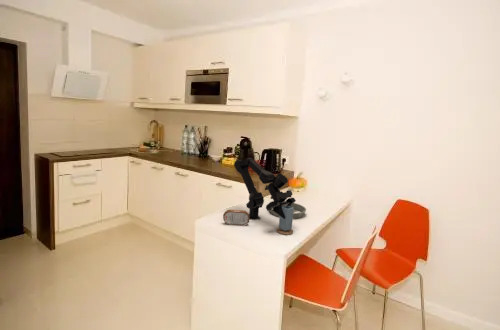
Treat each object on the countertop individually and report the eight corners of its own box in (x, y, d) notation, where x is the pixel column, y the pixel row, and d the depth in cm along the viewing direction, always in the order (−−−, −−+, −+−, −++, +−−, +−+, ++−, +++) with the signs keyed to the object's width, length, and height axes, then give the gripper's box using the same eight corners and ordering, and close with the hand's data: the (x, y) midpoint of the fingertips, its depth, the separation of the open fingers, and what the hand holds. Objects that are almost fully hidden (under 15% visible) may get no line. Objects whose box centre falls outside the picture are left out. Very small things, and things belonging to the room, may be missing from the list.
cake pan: (275, 220, 176) (276, 213, 175) (263, 207, 199) (263, 201, 198) (312, 219, 182) (313, 212, 182) (296, 207, 206) (296, 201, 205)
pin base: (274, 228, 161) (274, 219, 161) (288, 228, 164) (289, 219, 163) (280, 235, 153) (281, 226, 152) (295, 234, 156) (296, 225, 155)
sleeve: (278, 227, 159) (280, 206, 157) (284, 225, 162) (286, 205, 160) (285, 230, 155) (287, 209, 153) (291, 228, 158) (293, 207, 156)
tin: (249, 224, 166) (250, 210, 165) (249, 226, 163) (250, 212, 161) (222, 222, 165) (223, 208, 164) (222, 224, 162) (223, 210, 161)
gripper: (271, 187, 151) (285, 213, 145) (294, 183, 163) (308, 207, 157) (260, 197, 158) (272, 223, 152) (283, 193, 171) (295, 217, 164)
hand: (288, 217), depth 156 cm, fingers closed on sleeve, 5 cm apart
